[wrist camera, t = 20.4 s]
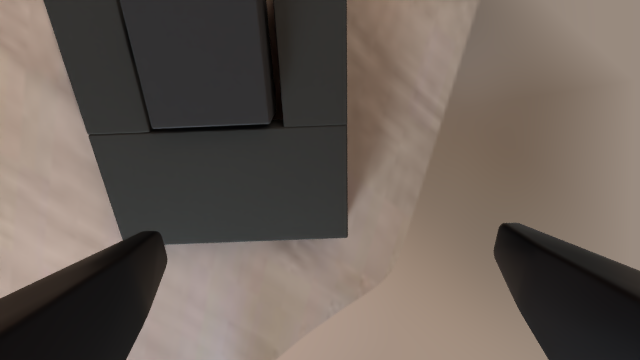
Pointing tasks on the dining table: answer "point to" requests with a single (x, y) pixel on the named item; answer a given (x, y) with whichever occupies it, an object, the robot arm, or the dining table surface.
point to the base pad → (217, 134)
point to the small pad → (202, 61)
